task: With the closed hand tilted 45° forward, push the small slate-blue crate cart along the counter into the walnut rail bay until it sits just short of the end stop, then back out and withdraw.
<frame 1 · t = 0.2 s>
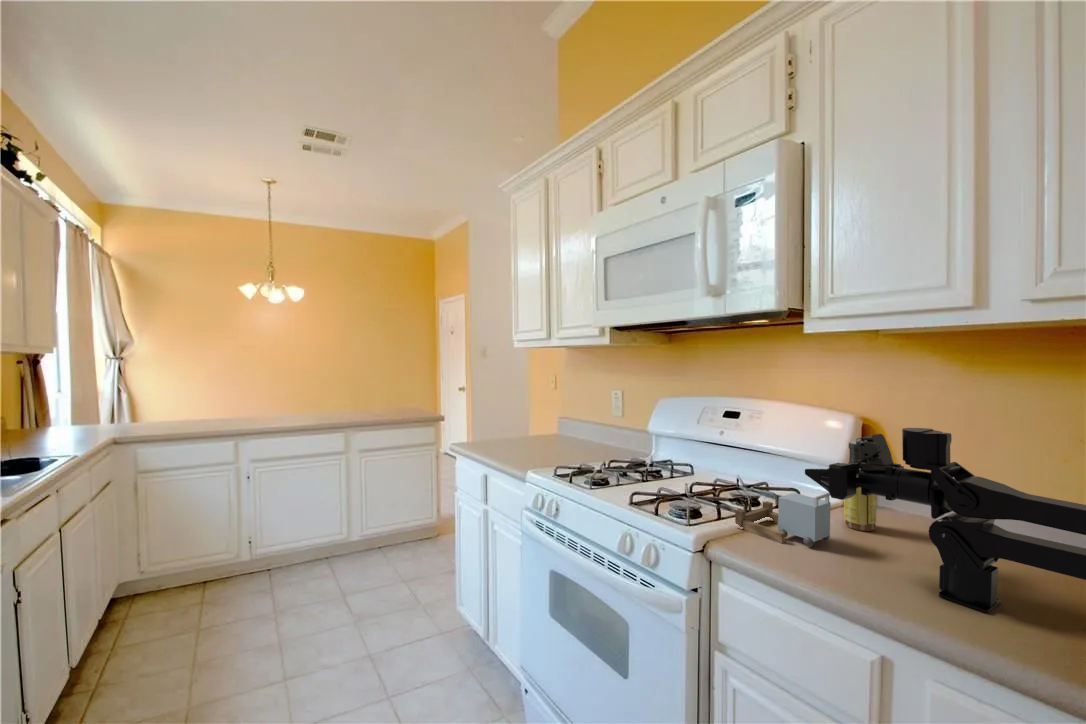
hand: (817, 469, 103), 16 cm above the countertop, tool horizontal, fingers open, 9 cm apart
sauce bottle: (859, 528, 115), on the countertop
bay: (771, 529, 114), on the countertop
cart: (804, 514, 108), point 6 cm above the countertop, slide at 0.0 cm
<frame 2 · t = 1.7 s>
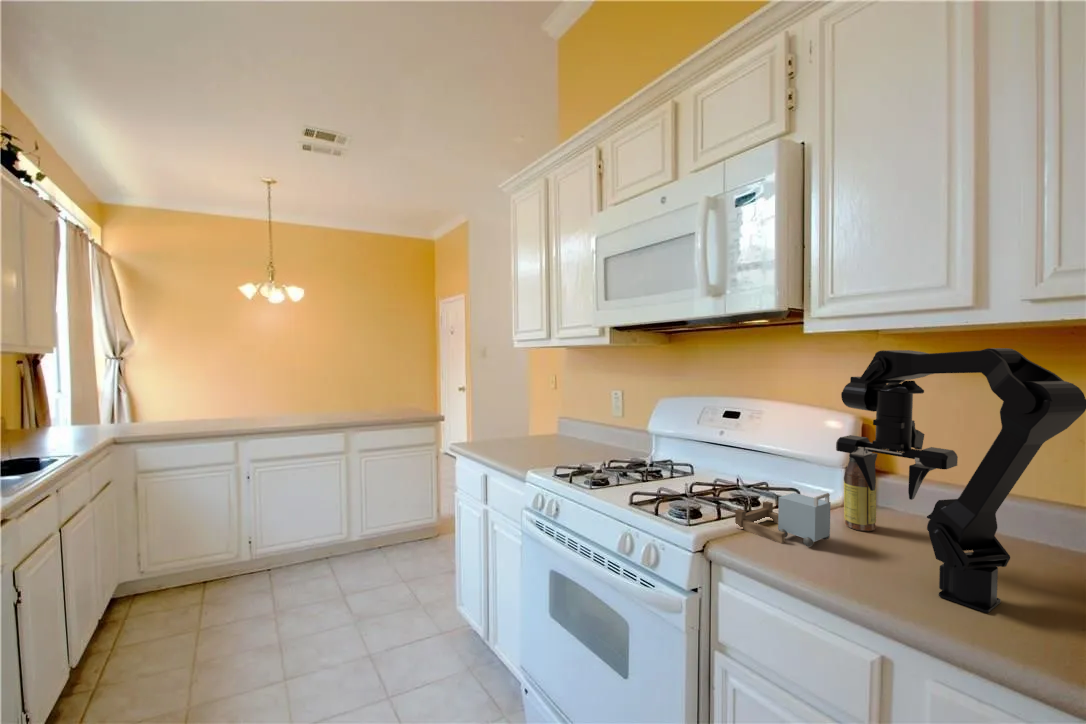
hand: (891, 494, 97), 13 cm above the countertop, tool pointing down, fingers open, 6 cm apart
nothing on the countertop moved.
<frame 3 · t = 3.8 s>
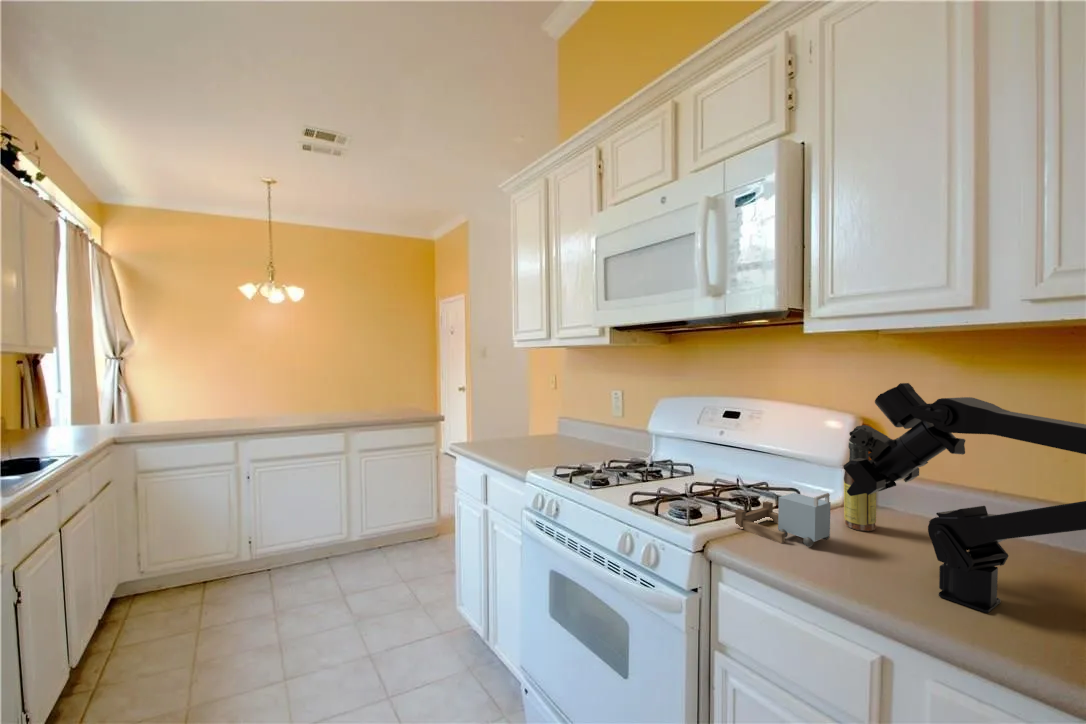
hand: (849, 493, 100), 12 cm above the countertop, tool tilted 45°, fingers closed
nothing on the countertop moved.
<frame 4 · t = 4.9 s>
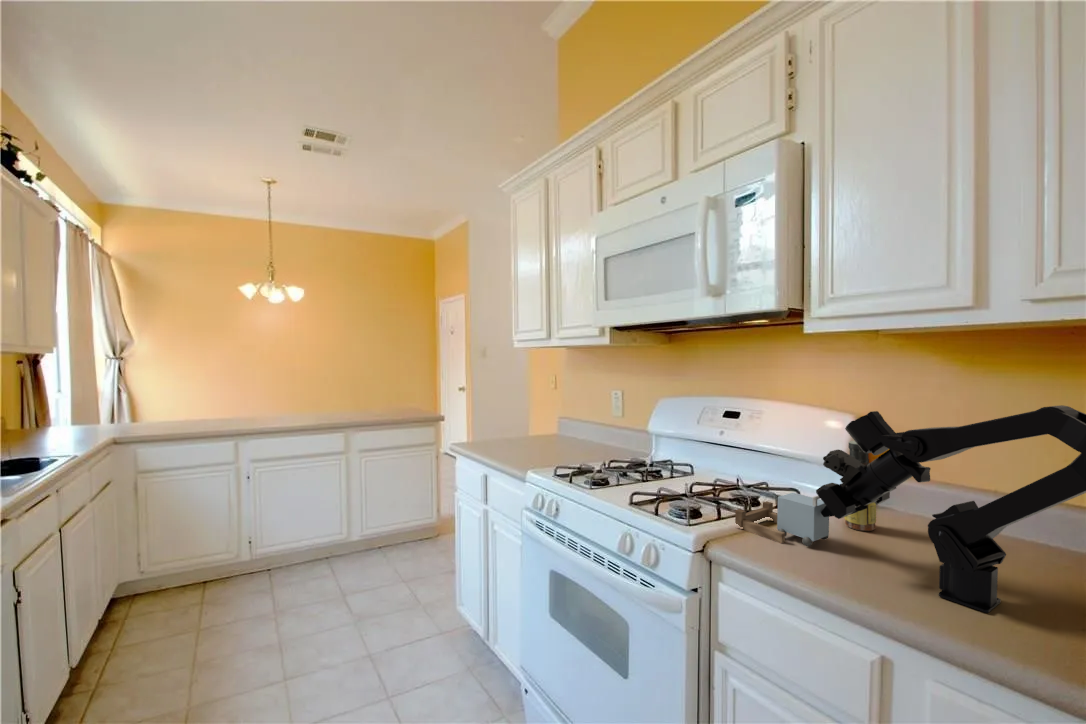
hand: (823, 514, 104), 7 cm above the countertop, tool tilted 45°, fingers closed, pressing on cart
cart: (803, 514, 108), point 6 cm above the countertop, slide at 0.2 cm, touching gripper
everything else where it was.
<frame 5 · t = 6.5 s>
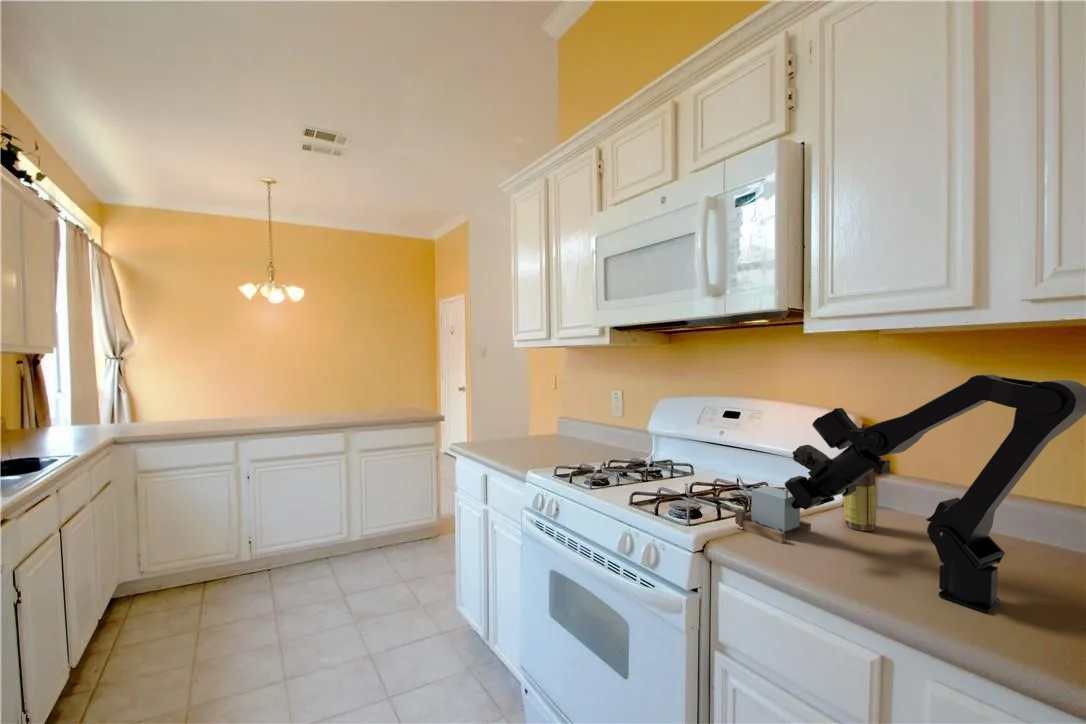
hand: (793, 506, 110), 7 cm above the countertop, tool tilted 45°, fingers closed
cart: (775, 506, 113), point 6 cm above the countertop, slide at 6.6 cm
everything else where it was.
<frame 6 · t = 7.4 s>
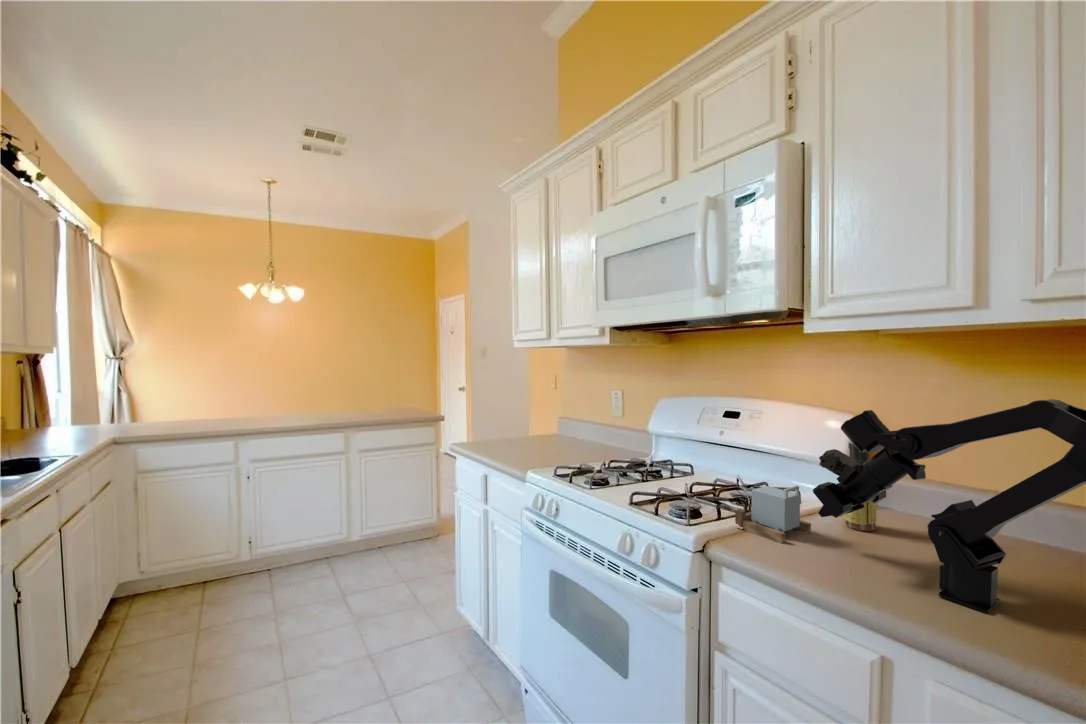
hand: (820, 514, 105), 7 cm above the countertop, tool tilted 45°, fingers closed
nothing on the countertop moved.
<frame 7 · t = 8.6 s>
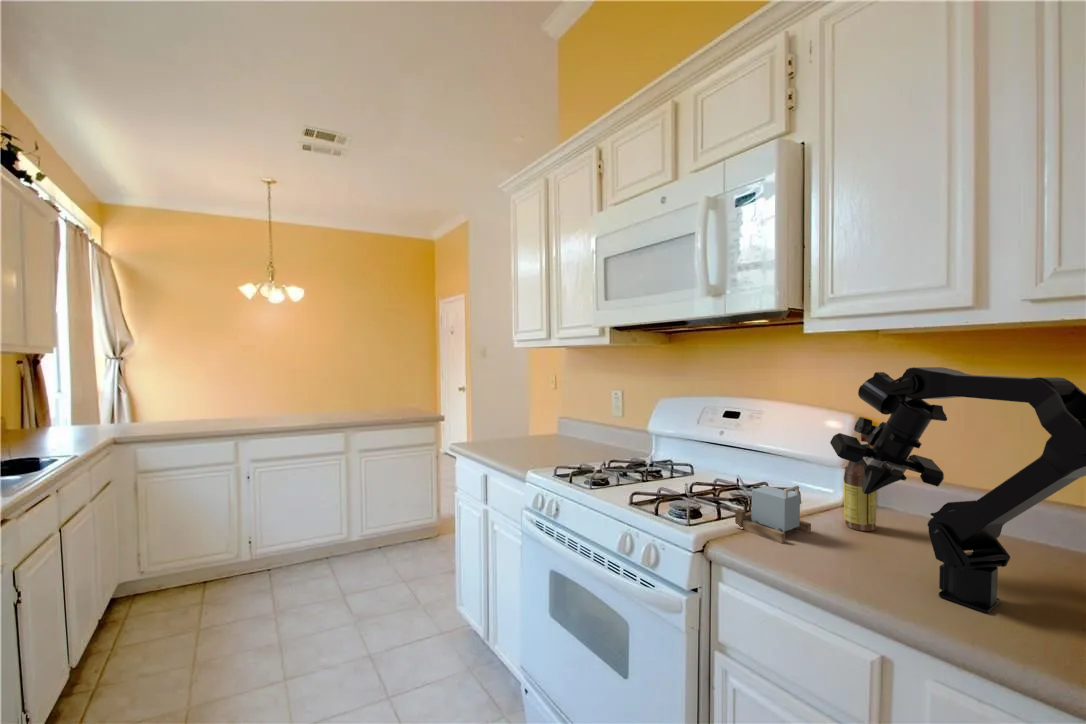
hand: (864, 492, 100), 12 cm above the countertop, tool tilted 25°, fingers closed
nothing on the countertop moved.
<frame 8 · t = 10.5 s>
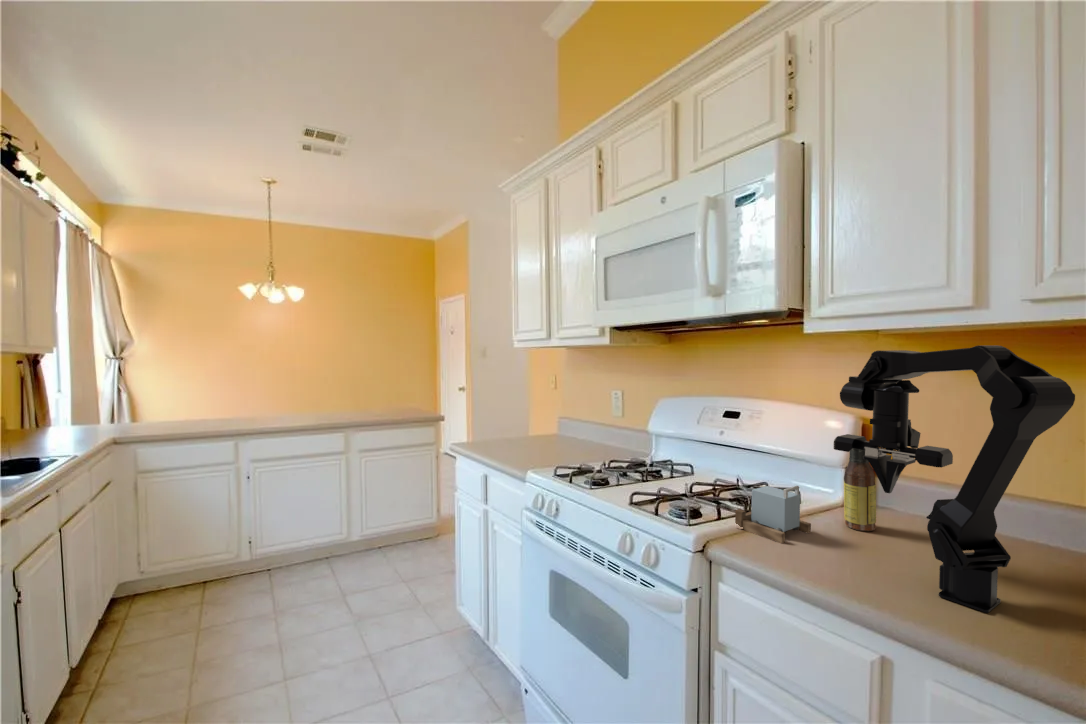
hand: (888, 492, 99), 13 cm above the countertop, tool pointing down, fingers closed
nothing on the countertop moved.
at the end: cart slide at 6.6 cm; cart touching nothing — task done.
